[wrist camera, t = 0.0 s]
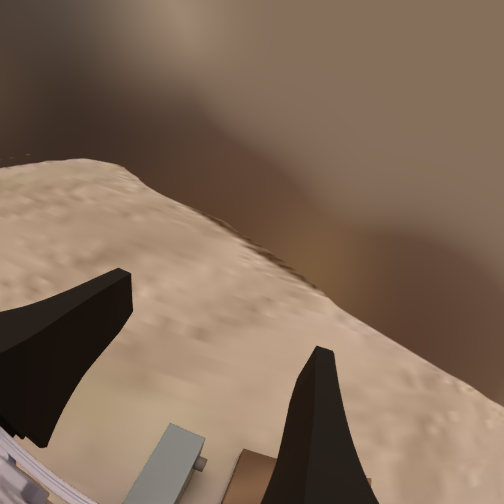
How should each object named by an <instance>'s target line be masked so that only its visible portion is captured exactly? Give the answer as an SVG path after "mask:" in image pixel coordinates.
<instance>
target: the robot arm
mask: <svg viewBox="0 0 504 504" xmlns="http://www.w3.org/2000/svg"><path fill="white" fill-rule="evenodd" d="M132 312H133V303H132V283H131V273H129V272H127V271H125V270H122V269H120V268H117V269H115V270H112V271H110V272H107V273H105V274H103V275H101V276H99V277H96V278H94V279H92V280H90V281H88V282H85V283H83V284H81V285H79V286H76V287H74V288H72V289H70V290H67V291H65V292H62V293H60V294H57V295H55V296H53V297H50V298H48V299H45V300H42V301H39V302H36V303H33V304H30V305H27V306H23V307H20V308H15V309H11V310H7V311H3V312H0V504H53V503H52V502H50V501H49V500H47V498H48V496H49V492H48V491H47V490H46V489H45V488H43V487H42V486H41V485H40V484H39V483H38V482H37V481H36V480H34V479H33V478H32V477H30V476H29V475H28V474H26V473H25V472H24V471H22V470H21V469H19V468H18V467H17V466H16V461H17V462H18V463H19V464H20V465H21V466H22V467H23V468H25V469H26V470H27V471H28V472H29V473H30V474H31V475H33V476H34V477H35V478H36V479H37V480H39V481H40V482H41V483H42V484H44V485H45V486H46V487H47V488H49V489H50V490H51V491H53V492H54V493H55V494H57V495H58V496H59V497H61V498H62V499H63V500H65V501H66V502H68V503H69V504H98V503H97V502H95V501H93V500H92V499H90V498H89V497H87V496H85V495H84V494H82V493H81V492H79V491H78V490H76V489H75V488H73V487H72V486H71V485H69V484H68V483H66V482H65V481H64V480H62V479H61V478H60V477H58V476H57V475H56V474H54V473H53V472H52V471H50V470H49V469H48V468H46V467H45V466H44V465H43V464H41V463H40V462H39V461H38V460H37V459H35V458H34V457H33V456H32V455H31V454H30V453H28V452H27V451H26V450H25V449H24V448H23V447H22V446H21V445H19V444H18V443H17V442H16V441H15V440H14V439H13V437H14V436H15V435H17V436H19V437H20V438H21V439H24V438H25V436H26V437H27V438H28V439H29V440H31V441H32V442H33V443H34V444H35V445H36V446H38V447H39V448H45V447H47V446H48V443H49V440H50V438H51V435H52V433H53V431H54V428H55V426H56V424H57V422H58V419H59V417H60V415H61V413H62V411H63V409H64V407H65V406H66V404H67V402H68V400H69V399H70V397H71V395H72V393H73V392H74V390H75V388H76V387H77V385H78V384H79V382H80V380H81V379H82V377H83V376H84V374H85V373H86V372H87V370H88V369H89V368H90V367H91V365H92V364H93V363H94V362H95V361H96V359H97V358H98V357H99V356H100V355H101V353H102V352H103V351H104V350H105V349H106V348H107V346H108V345H109V344H110V343H111V342H112V340H113V339H114V338H115V337H116V336H117V334H118V333H119V332H120V331H121V329H122V328H123V326H124V325H125V323H126V322H127V320H128V319H129V317H130V315H131V314H132ZM261 504H379V502H378V501H377V499H376V497H375V495H374V493H373V491H372V488H371V486H370V484H369V482H368V480H367V478H366V475H365V473H364V471H363V468H362V466H361V463H360V461H359V458H358V455H357V452H356V450H355V447H354V444H353V440H352V437H351V434H350V430H349V427H348V423H347V419H346V415H345V411H344V407H343V402H342V398H341V393H340V388H339V382H338V377H337V371H336V364H335V356H334V352H333V351H332V350H328V349H325V348H322V347H319V346H316V347H315V349H314V351H313V353H312V354H311V356H310V358H309V359H308V361H307V363H306V364H305V366H304V368H303V369H302V371H301V373H300V374H299V376H298V378H297V381H296V384H295V387H294V390H293V393H292V396H291V400H290V403H289V408H288V413H287V418H286V422H285V427H284V432H283V436H282V441H281V446H280V450H279V454H278V458H277V461H276V465H275V467H274V470H273V473H272V476H271V478H270V481H269V484H268V486H267V489H266V491H265V494H264V496H263V499H262V501H261Z"/></svg>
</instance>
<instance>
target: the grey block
mask: <svg viewBox="0 0 504 504" xmlns="http://www.w3.org/2000/svg"><path fill="white" fill-rule="evenodd" d="M204 441H205V438H204V437H202V436H200V435H197V434H195V433H192V432H190V431H188V430H186V429H183V428H181V427H179V426H177V425H174V424H172V423H170V424H169V425H168V427H167V429H166V430H165V432H164V434H163V436H162V437H161V439H160V441H159V442H158V444H157V446H156V448H155V449H154V451H153V453H152V454H151V456H150V458H149V460H148V461H147V463H146V465H145V466H144V468H143V470H142V472H141V473H140V475H139V477H138V478H137V480H136V482H135V483H134V485H133V487H132V488H131V490H130V492H129V493H128V495H127V497H126V499H125V500H124V502H123V504H178V503H179V501H180V499H181V497H182V495H183V493H184V491H185V489H186V486H187V484H188V482H189V480H190V478H191V476H192V474H193V472H194V470H195V469H196V470H198V471H201V472H202V471H203V469H204V467H205V465H206V462H207V460H208V459H205V458H203V457H200V454H201V450H202V447H203V444H204Z"/></svg>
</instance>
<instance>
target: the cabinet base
mask: <svg viewBox="0 0 504 504" xmlns="http://www.w3.org/2000/svg"><path fill="white" fill-rule="evenodd" d="M276 461H277V459H276V458H272V457H269V456H265V455H262V454H259V453H256V452H253V451H250V450H247V449H243V451H242V452H241V454H240V457H239V459H238V462H237V465H236V467H235V470H234V472H233V475H232V478H231V480H230V483H229V485H228V488H227V490H226V493H225V495H224V498H223V500H222V503H221V504H261V501H262V499H263V496H264V494H265V491H266V489H267V486H268V484H269V481H270V478H271V476H272V473H273V470H274V467H275V465H276ZM367 480H368V482H369V484H370V486H371V478H367Z"/></svg>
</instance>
